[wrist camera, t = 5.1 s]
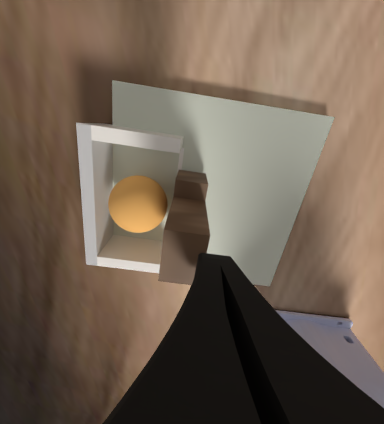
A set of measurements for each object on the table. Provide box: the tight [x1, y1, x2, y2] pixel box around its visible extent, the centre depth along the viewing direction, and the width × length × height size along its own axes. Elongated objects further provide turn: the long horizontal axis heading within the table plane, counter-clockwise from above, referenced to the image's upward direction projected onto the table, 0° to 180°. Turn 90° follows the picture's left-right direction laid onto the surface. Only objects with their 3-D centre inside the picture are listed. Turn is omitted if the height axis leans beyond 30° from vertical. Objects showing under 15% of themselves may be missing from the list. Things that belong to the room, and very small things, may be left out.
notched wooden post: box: [158, 170, 210, 285], centre depth 13 cm, size 2×5×7 cm, turn 172°
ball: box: [108, 175, 168, 233], centre depth 14 cm, size 4×4×4 cm
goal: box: [76, 123, 184, 273], centre depth 15 cm, size 6×10×4 cm, turn 172°
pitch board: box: [112, 80, 335, 286], centre depth 17 cm, size 15×15×1 cm
